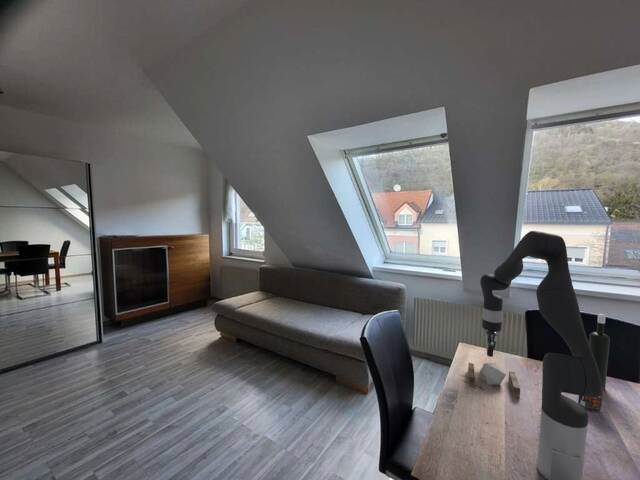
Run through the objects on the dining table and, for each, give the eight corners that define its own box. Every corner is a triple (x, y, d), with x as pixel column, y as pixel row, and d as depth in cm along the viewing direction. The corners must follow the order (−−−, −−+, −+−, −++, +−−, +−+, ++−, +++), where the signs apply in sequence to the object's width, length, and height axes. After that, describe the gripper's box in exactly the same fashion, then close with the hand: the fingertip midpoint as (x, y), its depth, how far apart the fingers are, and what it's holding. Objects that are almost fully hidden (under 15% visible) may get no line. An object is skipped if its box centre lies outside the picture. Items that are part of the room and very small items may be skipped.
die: (504, 393, 111) (512, 370, 113) (483, 381, 112) (492, 358, 114) (491, 388, 119) (500, 367, 121) (472, 376, 120) (481, 355, 122)
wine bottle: (581, 383, 116) (588, 312, 113) (590, 380, 118) (597, 310, 115) (599, 392, 110) (607, 317, 107) (608, 388, 112) (615, 315, 109)
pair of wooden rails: (519, 398, 107) (520, 388, 107) (468, 386, 114) (469, 377, 114) (514, 381, 118) (514, 372, 117) (468, 371, 125) (468, 362, 125)
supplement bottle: (583, 411, 100) (586, 381, 99) (574, 400, 106) (577, 371, 104) (605, 414, 98) (608, 383, 97) (594, 403, 104) (597, 374, 103)
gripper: (504, 325, 118) (501, 365, 120) (500, 314, 130) (497, 351, 131) (483, 322, 121) (481, 361, 123) (481, 312, 133) (479, 347, 135)
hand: (489, 355), depth 127 cm, fingers closed
